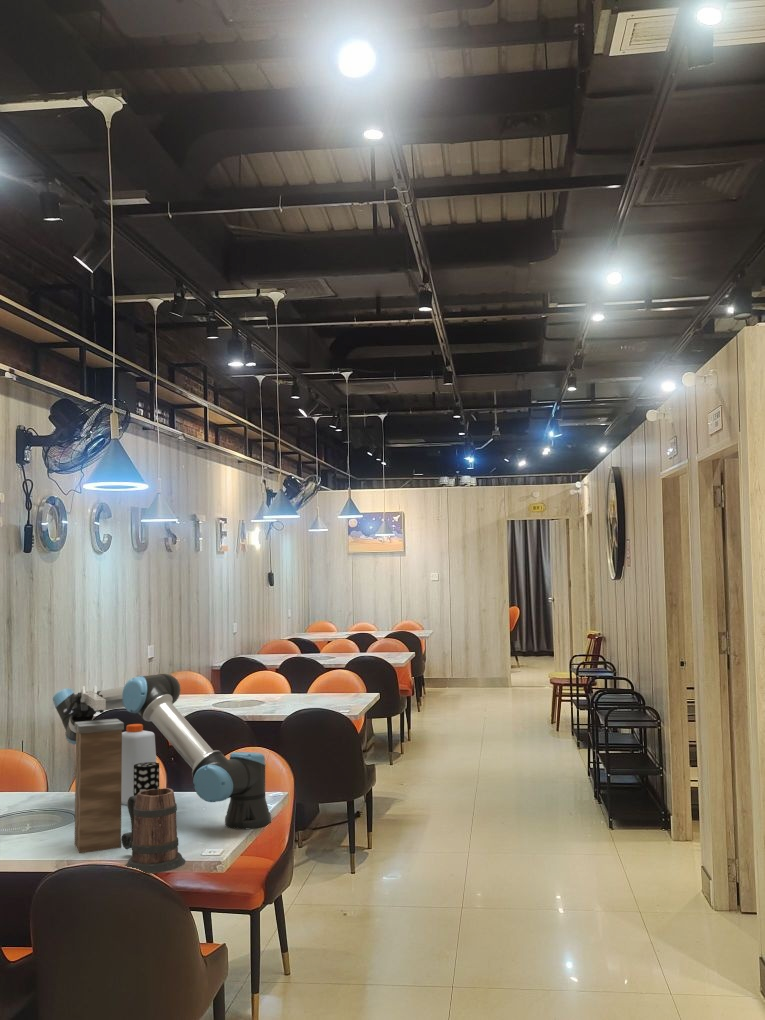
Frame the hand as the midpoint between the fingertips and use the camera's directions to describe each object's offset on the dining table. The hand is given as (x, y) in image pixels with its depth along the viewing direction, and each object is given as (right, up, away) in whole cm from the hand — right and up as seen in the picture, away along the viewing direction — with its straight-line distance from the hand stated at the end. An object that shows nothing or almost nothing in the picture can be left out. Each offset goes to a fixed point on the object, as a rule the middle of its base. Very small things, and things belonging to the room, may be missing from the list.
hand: (89, 689), depth 283 cm
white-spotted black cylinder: (+19, -46, 0) cm, 49 cm away
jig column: (+10, -43, -21) cm, 49 cm away
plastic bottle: (+3, -50, +39) cm, 64 cm away
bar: (+4, -3, -7) cm, 9 cm away
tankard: (+30, -41, -40) cm, 65 cm away
